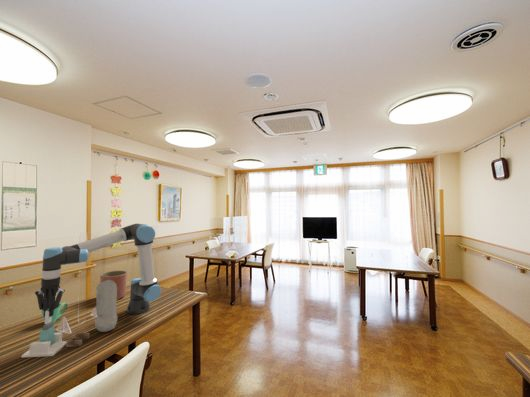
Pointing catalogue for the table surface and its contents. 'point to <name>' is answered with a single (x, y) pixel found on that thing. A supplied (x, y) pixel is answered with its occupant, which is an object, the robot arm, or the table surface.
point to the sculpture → (106, 306)
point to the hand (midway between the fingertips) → (48, 322)
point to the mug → (57, 312)
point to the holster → (77, 336)
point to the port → (45, 347)
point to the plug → (47, 333)
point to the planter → (116, 281)
